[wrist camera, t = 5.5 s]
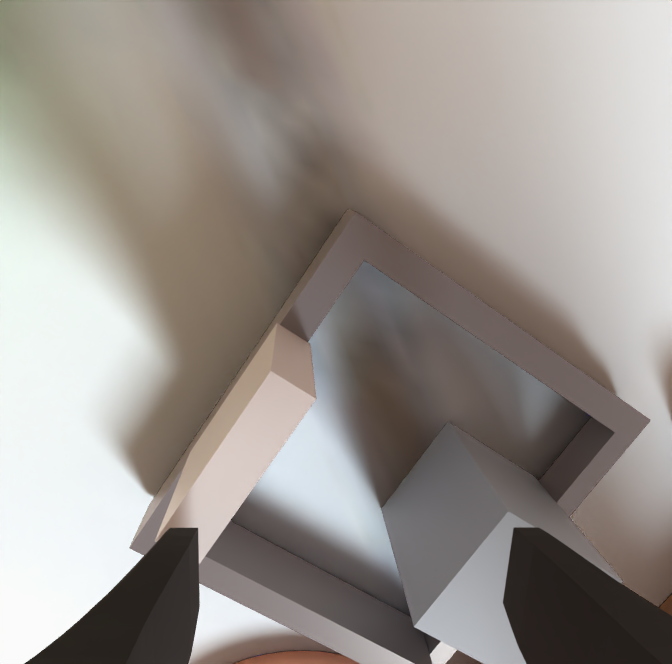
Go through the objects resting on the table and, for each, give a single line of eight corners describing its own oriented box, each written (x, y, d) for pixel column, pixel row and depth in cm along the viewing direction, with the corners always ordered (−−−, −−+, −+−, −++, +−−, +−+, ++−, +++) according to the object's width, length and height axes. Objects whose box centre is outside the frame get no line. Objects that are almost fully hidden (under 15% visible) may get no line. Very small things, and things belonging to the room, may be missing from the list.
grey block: (534, 476, 21) (623, 581, 16) (467, 558, 22) (529, 687, 16) (447, 421, 21) (508, 511, 15) (381, 508, 21) (413, 626, 15)
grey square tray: (625, 404, 21) (787, 509, 14) (423, 648, 23) (478, 841, 16) (345, 207, 18) (376, 216, 11) (146, 504, 20) (71, 662, 13)
